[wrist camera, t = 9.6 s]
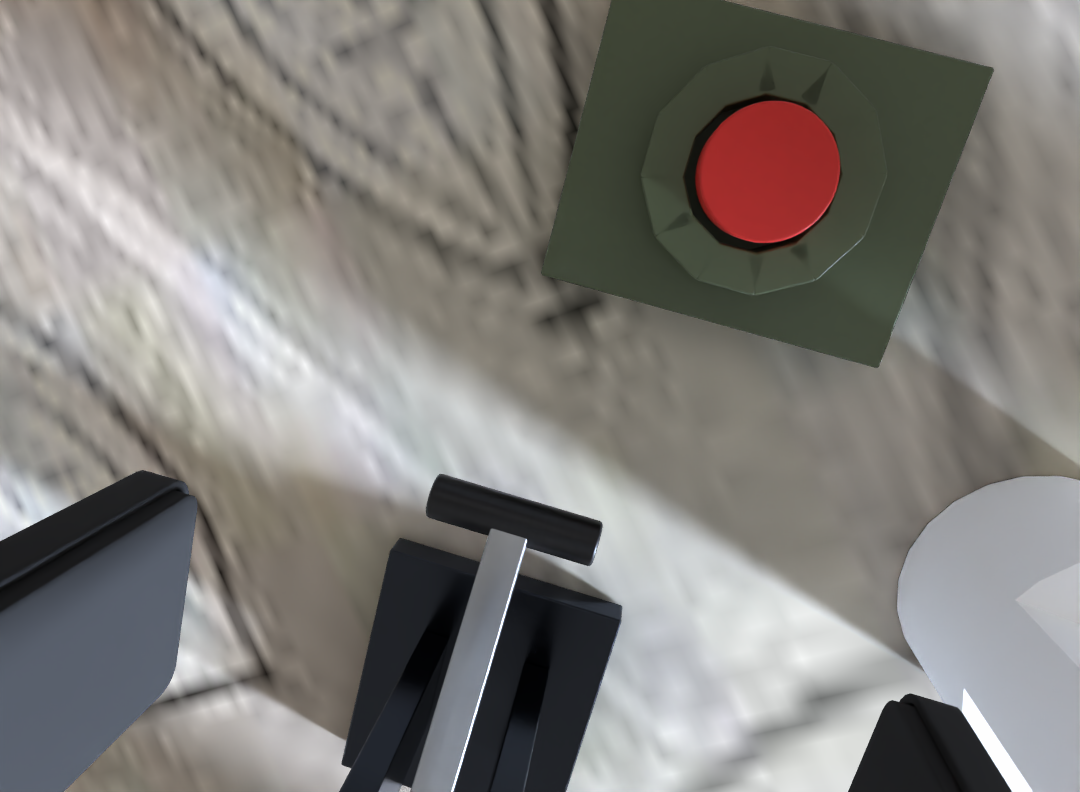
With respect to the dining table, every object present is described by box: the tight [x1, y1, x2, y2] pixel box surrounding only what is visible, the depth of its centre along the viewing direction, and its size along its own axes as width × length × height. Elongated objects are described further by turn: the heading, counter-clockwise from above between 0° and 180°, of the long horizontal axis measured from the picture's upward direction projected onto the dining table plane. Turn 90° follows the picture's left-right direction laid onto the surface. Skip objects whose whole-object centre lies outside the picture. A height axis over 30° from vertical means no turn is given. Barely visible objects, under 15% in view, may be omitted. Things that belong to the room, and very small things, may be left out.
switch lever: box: [410, 474, 602, 792], centre depth 21 cm, size 13×5×2 cm, turn 165°
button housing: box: [541, 0, 994, 368], centre depth 23 cm, size 11×9×4 cm
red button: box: [695, 101, 840, 243], centre depth 21 cm, size 4×4×2 cm
